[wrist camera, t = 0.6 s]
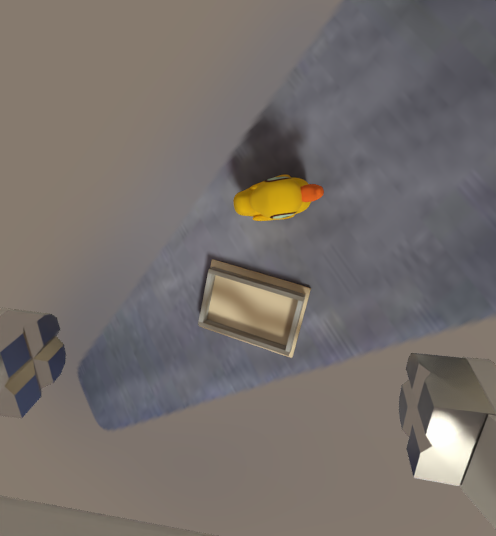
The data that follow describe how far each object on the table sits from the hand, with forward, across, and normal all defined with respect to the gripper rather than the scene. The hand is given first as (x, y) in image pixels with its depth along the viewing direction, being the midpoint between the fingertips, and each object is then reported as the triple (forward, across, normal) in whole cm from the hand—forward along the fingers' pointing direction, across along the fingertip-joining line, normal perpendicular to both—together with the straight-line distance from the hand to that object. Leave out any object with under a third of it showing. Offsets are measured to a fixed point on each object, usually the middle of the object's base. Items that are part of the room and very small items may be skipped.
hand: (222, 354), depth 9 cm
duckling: (+43, +2, +8) cm, 44 cm away
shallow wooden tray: (+40, +5, +23) cm, 46 cm away
